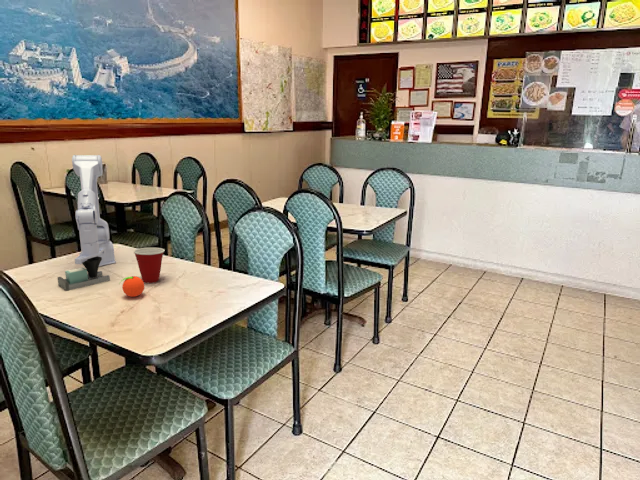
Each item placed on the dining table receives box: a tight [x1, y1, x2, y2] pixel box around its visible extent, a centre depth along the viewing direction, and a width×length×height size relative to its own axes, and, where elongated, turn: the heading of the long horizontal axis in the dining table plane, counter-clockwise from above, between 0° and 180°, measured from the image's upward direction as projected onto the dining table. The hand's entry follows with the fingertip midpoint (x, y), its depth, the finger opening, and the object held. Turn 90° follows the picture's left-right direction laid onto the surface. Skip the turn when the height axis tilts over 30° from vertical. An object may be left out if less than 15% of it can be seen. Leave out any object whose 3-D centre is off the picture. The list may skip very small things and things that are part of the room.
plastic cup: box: [132, 247, 166, 284], centre depth 166 cm, size 11×11×12 cm
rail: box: [57, 270, 111, 292], centre depth 163 cm, size 15×7×3 cm, turn 138°
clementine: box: [118, 276, 145, 298], centre depth 152 cm, size 8×7×7 cm
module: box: [64, 267, 89, 284], centre depth 161 cm, size 6×4×5 cm, turn 135°
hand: (93, 277), depth 165 cm, fingers closed
